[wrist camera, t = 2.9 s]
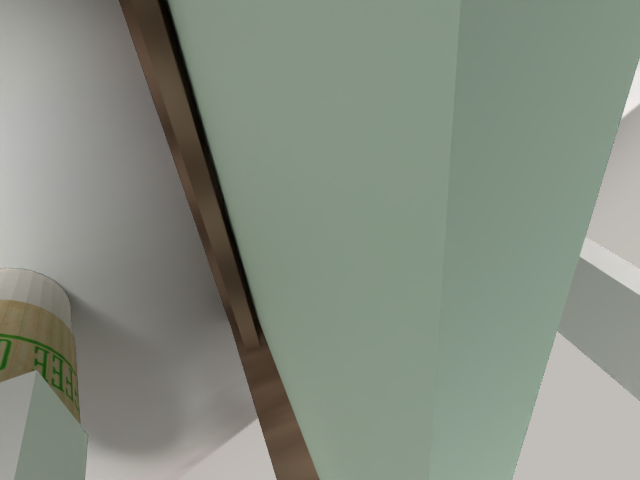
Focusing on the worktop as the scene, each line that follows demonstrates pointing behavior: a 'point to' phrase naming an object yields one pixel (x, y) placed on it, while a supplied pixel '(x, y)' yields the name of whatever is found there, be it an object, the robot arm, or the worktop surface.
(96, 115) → the worktop surface
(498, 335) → the sheet
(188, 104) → the rack
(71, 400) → the coffee cup
